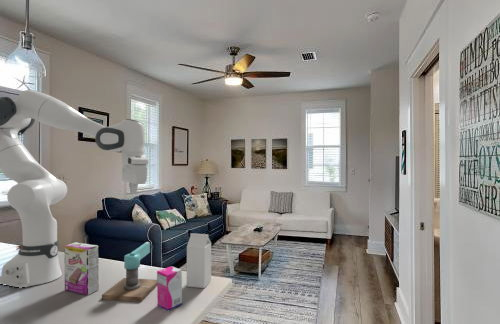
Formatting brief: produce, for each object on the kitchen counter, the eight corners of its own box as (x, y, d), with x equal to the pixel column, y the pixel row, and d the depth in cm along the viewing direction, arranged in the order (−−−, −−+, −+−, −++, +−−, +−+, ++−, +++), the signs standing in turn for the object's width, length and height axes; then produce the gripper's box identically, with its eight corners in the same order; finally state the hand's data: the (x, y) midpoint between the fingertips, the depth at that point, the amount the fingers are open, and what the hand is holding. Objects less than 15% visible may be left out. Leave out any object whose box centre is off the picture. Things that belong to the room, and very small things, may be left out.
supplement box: (171, 298, 100) (171, 265, 100) (182, 304, 97) (182, 269, 96) (156, 305, 96) (156, 270, 96) (167, 311, 92) (167, 275, 92)
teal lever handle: (136, 269, 103) (136, 255, 103) (121, 269, 103) (121, 255, 103) (154, 254, 120) (154, 242, 120) (141, 253, 120) (141, 241, 120)
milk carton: (204, 288, 108) (205, 237, 108) (186, 286, 110) (186, 235, 110) (211, 280, 115) (211, 232, 115) (193, 279, 117) (194, 231, 117)
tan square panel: (101, 299, 100) (101, 273, 100) (123, 281, 114) (124, 259, 114) (141, 301, 98) (141, 275, 98) (159, 283, 112) (159, 260, 112)
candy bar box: (63, 291, 105) (63, 245, 105) (75, 285, 110) (75, 241, 110) (87, 296, 102) (87, 248, 102) (99, 290, 107) (99, 244, 106)
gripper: (117, 159, 126) (117, 191, 126) (133, 159, 110) (133, 197, 110) (133, 159, 130) (133, 190, 130) (150, 159, 114) (150, 195, 114)
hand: (133, 193), depth 120 cm, fingers closed
